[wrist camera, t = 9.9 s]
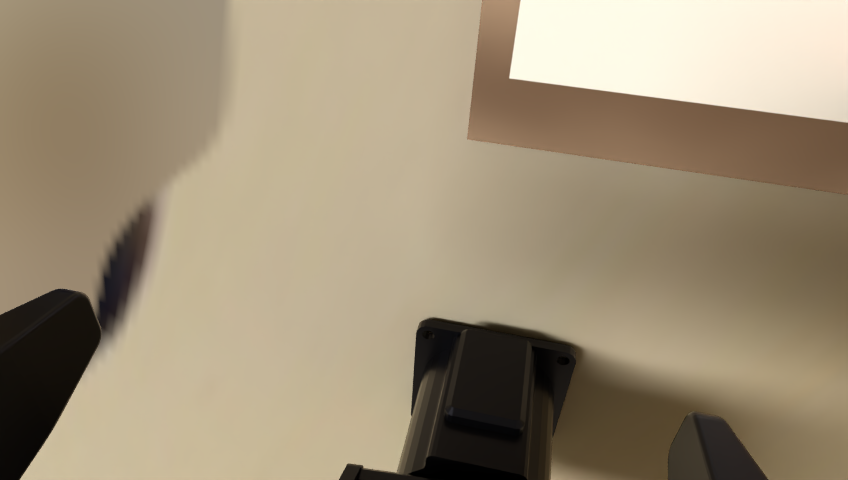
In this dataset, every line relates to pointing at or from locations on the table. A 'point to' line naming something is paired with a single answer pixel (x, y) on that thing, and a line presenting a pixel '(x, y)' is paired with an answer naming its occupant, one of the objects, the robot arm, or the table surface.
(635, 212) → the table surface
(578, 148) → the brown flat board
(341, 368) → the table surface
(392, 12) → the table surface
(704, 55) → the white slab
